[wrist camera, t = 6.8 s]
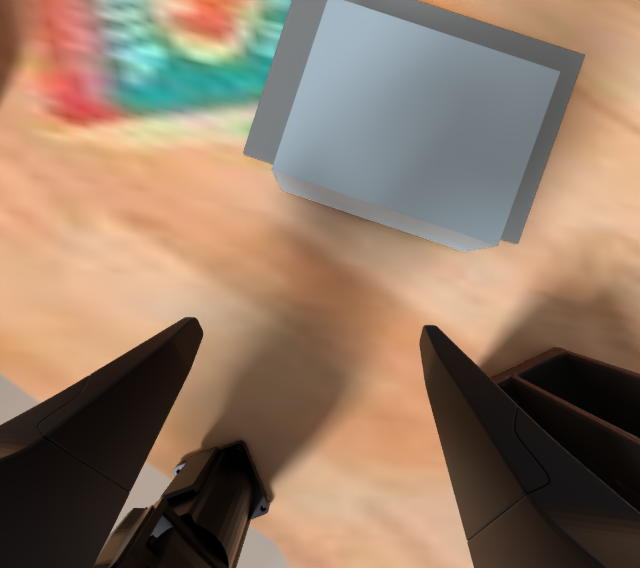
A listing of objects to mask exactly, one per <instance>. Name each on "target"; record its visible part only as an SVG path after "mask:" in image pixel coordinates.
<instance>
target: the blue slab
mask: <svg viewBox="0 0 640 568" xmlns="http://www.w3.org/2000/svg"><path fill="white" fill-rule="evenodd" d="M559 74H560V71H557V70H554V69H551V68H548V67H545V66H542V65H539V64H536V63H533V62H530V61H527V60H524V59H521V58H518V57H515V56H512V55H509V54H506V53H503V52H499V51H496V50H493V49H490V48H487V47H484V46H481V45H478V44H475V43H472V42H469V41H466V40H463V39H460V38H457V37H454V36H451V35H448V34H445V33H442V32H439V31H436V30H433V29H430V28H427V27H424V26H421V25H418V24H415V23H412V22H408V21H405V20H402V19H399V18H396V17H393V16H390V15H387V14H384V13H381V12H378V11H375V10H372V9H369V8H366V7H363V6H360V5H357V4H354V3H351V2H348V1H345V0H327V3H326V6H325V9H324V12H323V15H322V18H321V21H320V24H319V27H318V30H317V33H316V36H315V39H314V42H313V45H312V48H311V51H310V55H309V58H308V61H307V64H306V67H305V70H304V73H303V76H302V79H301V82H300V85H299V88H298V91H297V94H296V97H295V100H294V103H293V106H292V109H291V112H290V115H289V118H288V121H287V124H286V127H285V130H284V133H283V136H282V139H281V142H280V145H279V148H278V151H277V154H276V158H275V161H274V164H273V167H272V172H273V174H274V176H275V178H276V180H277V182H278V184H279V186H280V188H281V190H282V191H284V192H287V193H290V194H293V195H296V196H299V197H302V198H305V199H308V200H311V201H314V202H317V203H320V204H323V205H326V206H329V207H332V208H335V209H338V210H341V211H344V212H347V213H350V214H353V215H356V216H359V217H362V218H365V219H368V220H370V221H373V222H376V223H379V224H382V225H385V226H388V227H391V228H394V229H397V230H400V231H403V232H406V233H409V234H412V235H415V236H418V237H421V238H424V239H427V240H430V241H433V242H436V243H439V244H442V245H445V246H448V247H451V248H454V249H456V250H459V251H462V252H467V251H473V250H478V249H483V248H489V247H494V246H498V244H499V242H500V239H501V236H502V233H503V231H504V228H505V225H506V222H507V219H508V217H509V214H510V211H511V208H512V205H513V203H514V200H515V197H516V194H517V191H518V189H519V186H520V183H521V180H522V177H523V175H524V172H525V169H526V166H527V163H528V161H529V158H530V155H531V152H532V150H533V147H534V144H535V141H536V138H537V136H538V133H539V130H540V127H541V124H542V122H543V119H544V116H545V113H546V110H547V108H548V105H549V102H550V99H551V96H552V94H553V91H554V88H555V85H556V82H557V80H558V77H559Z"/></svg>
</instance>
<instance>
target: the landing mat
mask: <svg viewBox="0 0 640 568" xmlns="http://www.w3.org/2000/svg"><path fill="white" fill-rule="evenodd" d="M345 1H348V2H351V3H354V4H357V5H360V6H363V7H366V8H369V9H372V10H375V11H378V12H381V13H384V14H387V15H390V16H393V17H396V18H399V19H402V20H405V21H408V22H412V23H415V24H418V25H421V26H424V27H427V28H430V29H433V30H436V31H439V32H442V33H445V34H448V35H451V36H454V37H457V38H460V39H463V40H466V41H469V42H472V43H475V44H478V45H481V46H484V47H487V48H490V49H493V50H496V51H499V52H503V53H506V54H509V55H512V56H515V57H518V58H521V59H524V60H527V61H530V62H533V63H536V64H539V65H542V66H545V67H548V68H551V69H554V70H557V71H560V74H559V77H558V80H557V82H556V85H555V88H554V91H553V94H552V96H551V99H550V102H549V105H548V108H547V110H546V113H545V116H544V119H543V122H542V124H541V127H540V130H539V133H538V136H537V138H536V141H535V144H534V147H533V150H532V152H531V155H530V158H529V161H528V163H527V166H526V169H525V172H524V175H523V177H522V180H521V183H520V186H519V189H518V191H517V194H516V197H515V200H514V203H513V205H512V208H511V211H510V214H509V217H508V219H507V222H506V225H505V228H504V231H503V233H502V236H501V240H504V241H507V242H510V243H513V244H518V243H519V240H520V237H521V234H522V232H523V229H524V226H525V223H526V220H527V217H528V215H529V212H530V209H531V206H532V203H533V201H534V198H535V195H536V192H537V189H538V186H539V184H540V181H541V178H542V175H543V172H544V169H545V167H546V164H547V161H548V158H549V155H550V152H551V150H552V147H553V144H554V141H555V138H556V136H557V133H558V130H559V127H560V124H561V121H562V119H563V116H564V113H565V110H566V107H567V104H568V102H569V99H570V96H571V93H572V90H573V87H574V85H575V82H576V79H577V76H578V73H579V71H580V68H581V65H582V62H583V59H584V56H585V55H584V54H581V53H578V52H575V51H572V50H569V49H565V48H562V47H559V46H556V45H553V44H550V43H547V42H544V41H541V40H538V39H534V38H531V37H528V36H525V35H522V34H519V33H516V32H513V31H510V30H507V29H503V28H500V27H497V26H494V25H491V24H488V23H485V22H482V21H479V20H476V19H472V18H469V17H466V16H463V15H460V14H457V13H454V12H451V11H448V10H445V9H441V8H438V7H435V6H432V5H429V4H426V3H423V2H420V1H417V0H345ZM326 3H327V0H292V2H291V5H290V8H289V11H288V14H287V17H286V20H285V23H284V27H283V30H282V33H281V36H280V39H279V42H278V45H277V48H276V52H275V55H274V58H273V61H272V64H271V67H270V70H269V73H268V77H267V80H266V83H265V86H264V89H263V92H262V95H261V98H260V102H259V105H258V108H257V111H256V114H255V117H254V120H253V123H252V127H251V130H250V133H249V136H248V139H247V142H246V145H245V148H244V152H243V153H244V155H246V156H249V157H252V158H255V159H258V160H261V161H264V162H267V163H270V164H274V161H275V158H276V154H277V151H278V148H279V145H280V142H281V139H282V136H283V133H284V130H285V127H286V124H287V121H288V118H289V115H290V112H291V109H292V106H293V103H294V100H295V97H296V94H297V91H298V88H299V85H300V82H301V79H302V76H303V73H304V70H305V67H306V64H307V61H308V58H309V55H310V51H311V48H312V45H313V42H314V39H315V36H316V33H317V30H318V27H319V24H320V21H321V18H322V15H323V12H324V9H325V6H326Z"/></svg>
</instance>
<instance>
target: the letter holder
mask: <svg viewBox="0 0 640 568" xmlns="http://www.w3.org/2000/svg"><path fill="white" fill-rule="evenodd" d="M491 380H492V381H493V382H494V383H495V384H496V385H498V386H499V387H500V388H501V389H502V390H503V391H504V392H505V393H506V394H507V395H508V396H509V397H510V398H511V399H512V400H513V401H514V402H515V403H516V404H517V407H520V408H521V409H522V410H523V411H524V412H525V413H526V414H527V415H528V416H529V417H530V418H531V419H533V420H534V421H535V422H536V423H537V424H538V425H539V426H540V427H541V428H542V429H543V430H544V431H545V432H546V433H547V434H548V435H550V436H551V437H552V438H553V439H554V440H555V441H556V442H558V443H559V444H560V445H561V446H562V447H563V448H564V449H565V450H567V451H568V452H569V453H570V454H571V455H572V456H573V457H575V458H576V459H577V460H578V461H579V462H581V463H582V464H583V465H584V466H585V467H586V468H588V469H589V470H590V471H591V472H592V473H593V474H595V475H596V476H597V477H598V478H599V479H600V480H602V481H603V482H604V483H605V484H606V485H607V486H609V487H610V488H611V489H612V490H613V491H614V492H616V493H617V494H618V495H619V496H620V497H622V498H623V499H624V500H625V501H626V502H627V503H629V504H630V505H631V506H632V507H633V508H635V509H636V510H637V511H638V512H640V374H638V373H635V372H632V371H629V370H626V369H622V368H619V367H616V366H613V365H610V364H607V363H604V362H601V361H598V360H595V359H592V358H588V357H585V356H582V355H579V354H576V353H573V352H570V351H567V350H565V349H562V348H556V347H555V348H553V349H552V350H550V351H548V352H545V353H543V354H541V355H539V356H537V357H535V358H533V359H531V360H529V361H527V362H524V363H522V364H520V365H518V366H516V367H514V368H512V369H510V370H508V371H506V372H504V373H502V374H500V375H497V376H495V377H493V378H491Z"/></svg>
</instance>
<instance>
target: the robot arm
mask: <svg viewBox="0 0 640 568" xmlns="http://www.w3.org/2000/svg"><path fill="white" fill-rule="evenodd" d="M202 338H203V330H202V328H201V326H200V324H199V322H198V320H197V319H196V318H195V317H185V318H183V319H182V320H180V321H178V322H177V323H175V324H173V325H172V326H170V327H168V328H167V329H165V330H163V331H162V332H160V333H158V334H157V335H155V336H153V337H152V338H150V339H148V340H147V341H145V342H143V343H142V344H140V345H138V346H137V347H135V348H133V349H132V350H130V351H128V352H127V353H125V354H123V355H122V356H120V357H118V358H117V359H115V360H114V361H112V362H110V363H109V364H107V365H105V366H104V367H102V368H100V369H99V370H97V371H95V372H94V373H92V374H91V375H90V376H87V377H85V378H84V379H82V380H80V381H79V382H77V383H75V384H74V385H72V386H70V387H68V388H67V389H65V390H63V391H62V392H60V393H58V394H56V395H55V396H53V397H51V398H49V399H47V400H46V401H44V402H42V403H40V404H38V405H37V406H35V407H33V408H31V409H29V410H27V411H26V412H24V413H22V414H20V415H18V416H16V417H15V418H13V419H11V420H9V421H7V422H5V423H3V424H2V425H0V568H236V566H237V563H238V560H239V557H240V553H241V550H242V547H243V544H244V540H245V536H246V534H247V530H248V527H249V524H250V521H251V519H253V518H256V517H259V516H261V515H264V514H266V513H267V512H268V510H269V506H270V503H269V500H268V498H267V495H266V493H265V490H264V488H263V486H262V483H261V481H260V478H259V476H258V473H257V471H256V468H255V466H254V463H253V461H252V458H251V456H250V453H249V451H248V448H247V446H246V444H245V442H244V441H241V440H240V441H236V442H234V443H231V444H228V445H226V446H223V447H221V448H219V447H215V448H212V449H210V450H207V451H204V452H202V453H199V454H196V455H194V456H191V457H190V458H189V459H188V460H187V461H184V462H181V463H179V464H178V465H177V466H176V467H175V469H174V475H175V478H174V479H173V481H172V482H171V483H170V485H169V486H168V487H167V489H166V490H165V492H164V493H163V494H162V496H161V498H160V499H159V500H158V502H156V503H155V504H154V505H151V506H150V507H149V508H147V507H146V508H133V509H132V510H131V511H130V512H129V513H128V514H127V515H126V516H125V517H124V519H123V520H122V521H121V522H120V524H119V525H118V526H117V527H116V528H115V529H114V531H113V532H112V533H111V534H110V532H111V530H112V528H113V526H114V524H115V522H116V520H117V518H118V516H119V513H120V512H121V510H122V508H123V506H124V504H125V502H126V500H127V498H128V496H129V492H130V491H131V489H132V487H133V485H134V483H135V481H136V479H137V477H138V475H139V473H140V471H141V469H142V467H143V465H144V463H145V461H146V459H147V457H148V455H149V453H150V451H151V449H152V447H153V445H154V443H155V441H156V439H157V437H158V435H159V433H160V431H161V429H162V427H163V424H164V422H165V420H166V418H167V416H168V414H169V412H170V410H171V408H172V406H173V404H174V402H175V400H176V398H177V396H178V394H179V392H180V390H181V388H182V386H183V384H184V382H185V380H186V378H187V376H188V374H189V372H190V369H191V367H192V365H193V362H194V359H195V356H196V354H197V351H198V348H199V346H200V343H201V340H202ZM420 351H421V358H422V365H423V372H424V379H425V385H426V389H427V393H428V397H429V401H430V405H431V408H432V412H433V416H434V419H435V423H436V427H437V431H438V434H439V438H440V442H441V446H442V449H443V453H444V457H445V460H446V464H447V468H448V472H449V475H450V479H451V483H452V487H453V490H454V494H455V498H456V501H457V505H458V509H459V513H460V516H461V520H462V524H463V527H464V531H465V535H466V539H467V540H468V542H467V543H468V547H469V550H470V554H471V558H472V562H473V565H474V568H640V512H638V511H637V510H636V509H635V508H633V507H632V506H631V505H630V504H629V503H627V502H626V501H625V500H624V499H623V498H622V497H620V496H619V495H618V494H617V493H616V492H614V491H613V490H612V489H611V488H610V487H609V486H607V485H606V484H605V483H604V482H603V481H602V480H600V479H599V478H598V477H597V476H596V475H595V474H593V473H592V472H591V471H590V470H589V469H588V468H586V467H585V466H584V465H583V464H582V463H581V462H579V461H578V460H577V459H576V458H575V457H573V456H572V455H571V454H570V453H569V452H568V451H567V450H565V449H564V448H563V447H562V446H561V445H560V444H559V443H558V442H556V441H555V440H554V439H553V438H552V437H551V436H550V435H548V434H547V433H546V432H545V431H544V430H543V429H542V428H541V427H540V426H539V425H538V424H537V423H536V422H535V421H534V420H533V419H531V418H530V417H529V416H528V415H527V414H526V413H525V412H524V411H523V410H522V409H521V408H520V407H517V404H516V403H515V402H514V401H513V400H512V399H511V398H510V397H509V396H508V395H507V394H506V393H505V392H504V391H503V390H502V389H501V388H500V387H499V386H498V385H496V384H495V383H494V382H493V381H492V380H491V379H490V378H489V377H488V376H487V375H486V374H485V373H484V372H483V371H482V370H481V369H480V368H479V367H478V366H477V365H476V364H475V363H474V362H473V361H472V360H471V359H470V358H469V357H468V356H467V355H466V354H465V353H464V352H463V351H462V350H461V349H460V348H459V347H458V346H457V345H456V344H454V343H453V342H452V341H451V340H450V339H449V338H448V337H447V336H446V335H445V334H444V333H443V332H442V331H441V330H440V329H439V328H438V327H437V326H435V325H425V326H424V327H423V329H422V333H421V338H420ZM238 446H240V447H241V448H242V449H239V448H238ZM179 469H181V470H179ZM262 506H265V507H262ZM109 534H110V535H109ZM108 536H109V537H108Z"/></svg>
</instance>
